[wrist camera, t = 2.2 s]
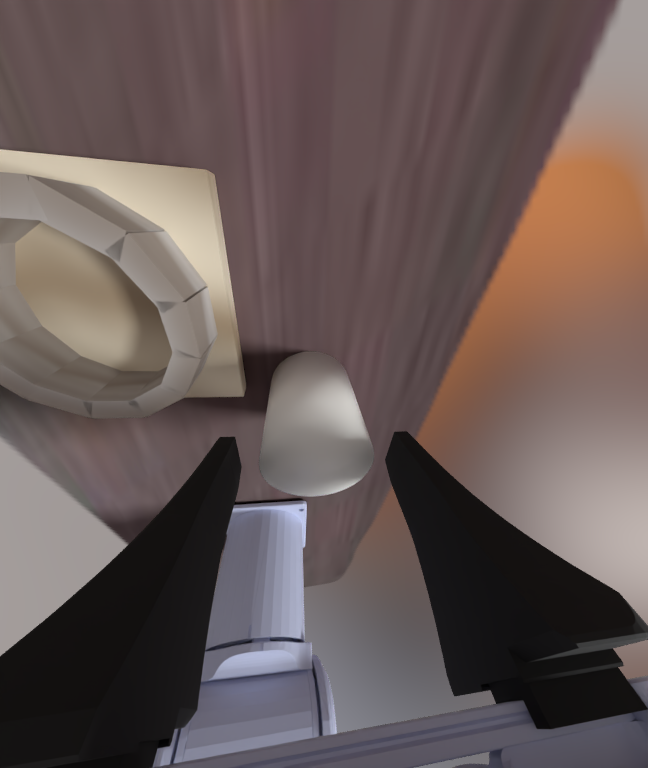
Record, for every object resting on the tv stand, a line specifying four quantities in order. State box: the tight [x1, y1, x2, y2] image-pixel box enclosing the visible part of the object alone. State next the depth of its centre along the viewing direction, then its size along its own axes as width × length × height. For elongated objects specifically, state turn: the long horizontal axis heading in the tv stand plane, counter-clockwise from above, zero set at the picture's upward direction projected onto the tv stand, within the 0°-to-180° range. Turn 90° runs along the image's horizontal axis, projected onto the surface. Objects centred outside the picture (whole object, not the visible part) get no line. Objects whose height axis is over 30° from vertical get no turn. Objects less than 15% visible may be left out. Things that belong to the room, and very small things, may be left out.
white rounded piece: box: [259, 351, 374, 496], centre depth 13 cm, size 5×5×6 cm
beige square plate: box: [0, 150, 247, 419], centre depth 10 cm, size 10×10×4 cm
